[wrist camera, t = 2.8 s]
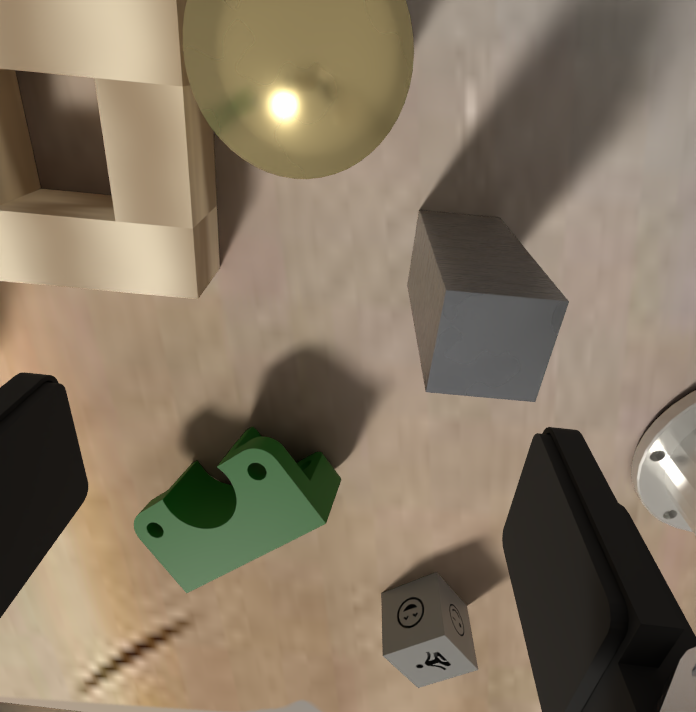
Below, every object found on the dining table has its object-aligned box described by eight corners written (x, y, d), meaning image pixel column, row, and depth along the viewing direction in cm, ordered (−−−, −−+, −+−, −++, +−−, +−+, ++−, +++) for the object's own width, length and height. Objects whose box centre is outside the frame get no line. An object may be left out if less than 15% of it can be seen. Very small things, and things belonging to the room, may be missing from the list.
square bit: (499, 217, 25) (569, 301, 16) (481, 292, 27) (535, 401, 18) (419, 210, 25) (446, 290, 16) (407, 285, 27) (425, 392, 18)
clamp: (283, 392, 36) (288, 420, 27) (331, 456, 37) (351, 504, 28) (144, 493, 35) (101, 557, 26) (197, 556, 36) (173, 638, 27)
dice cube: (466, 605, 41) (478, 669, 37) (413, 624, 42) (418, 687, 38) (436, 571, 39) (444, 635, 35) (381, 592, 40) (382, 655, 36)
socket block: (206, -10, 21) (174, -23, 17) (219, 268, 27) (197, 299, 23) (-89, -40, 20) (-181, -59, 17) (-8, 247, 27) (-64, 274, 23)
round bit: (404, -20, 20) (432, -78, 12) (386, 140, 23) (397, 188, 15) (255, -35, 20) (172, -105, 12) (256, 128, 23) (191, 168, 15)
